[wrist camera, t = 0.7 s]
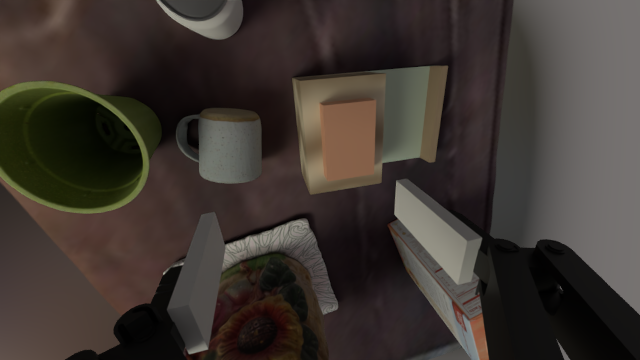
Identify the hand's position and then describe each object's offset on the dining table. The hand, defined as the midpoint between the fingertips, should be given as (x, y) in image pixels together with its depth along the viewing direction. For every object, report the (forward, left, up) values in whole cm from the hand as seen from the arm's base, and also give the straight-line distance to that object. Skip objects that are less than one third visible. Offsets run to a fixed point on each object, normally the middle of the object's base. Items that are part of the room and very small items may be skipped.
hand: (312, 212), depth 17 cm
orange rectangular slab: (0, +7, -15) cm, 17 cm away
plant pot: (-3, -19, -22) cm, 29 cm away
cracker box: (+25, +22, -22) cm, 40 cm away
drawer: (0, +18, -22) cm, 28 cm away
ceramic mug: (0, -8, -22) cm, 24 cm away
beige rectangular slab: (0, +7, -22) cm, 23 cm away
